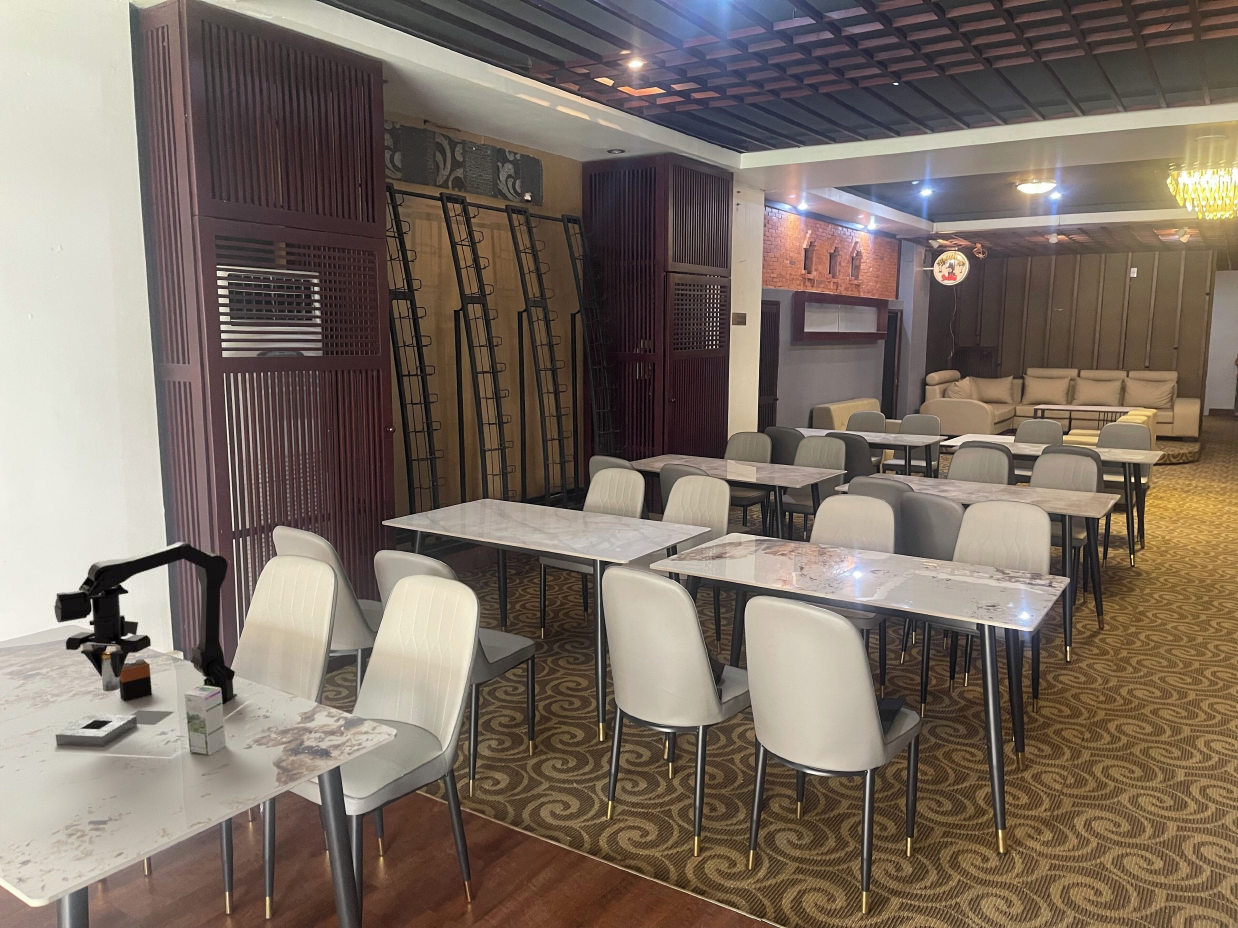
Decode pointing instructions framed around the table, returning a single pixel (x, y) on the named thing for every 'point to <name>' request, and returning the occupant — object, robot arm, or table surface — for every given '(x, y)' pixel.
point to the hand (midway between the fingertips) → (110, 676)
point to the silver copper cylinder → (108, 673)
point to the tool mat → (150, 716)
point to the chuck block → (96, 730)
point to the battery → (135, 680)
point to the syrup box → (205, 720)
